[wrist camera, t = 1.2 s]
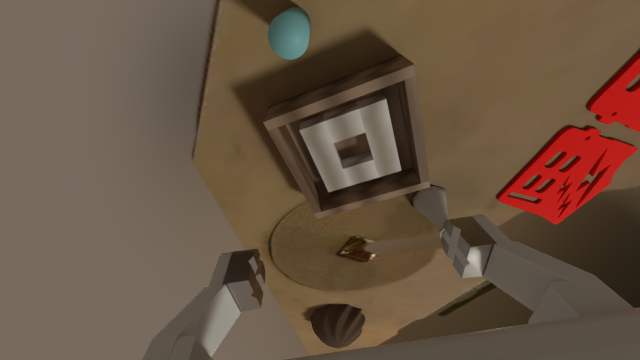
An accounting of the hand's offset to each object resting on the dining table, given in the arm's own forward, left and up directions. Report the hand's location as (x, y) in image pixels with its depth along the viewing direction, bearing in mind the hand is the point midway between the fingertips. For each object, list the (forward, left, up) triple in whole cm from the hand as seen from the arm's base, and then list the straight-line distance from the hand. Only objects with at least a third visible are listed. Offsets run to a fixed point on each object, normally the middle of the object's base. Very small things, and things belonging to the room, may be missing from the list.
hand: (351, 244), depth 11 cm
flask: (-12, +34, -33) cm, 49 cm away
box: (0, +14, -33) cm, 36 cm away
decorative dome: (+25, +82, -33) cm, 92 cm away
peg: (+2, -6, -33) cm, 34 cm away
